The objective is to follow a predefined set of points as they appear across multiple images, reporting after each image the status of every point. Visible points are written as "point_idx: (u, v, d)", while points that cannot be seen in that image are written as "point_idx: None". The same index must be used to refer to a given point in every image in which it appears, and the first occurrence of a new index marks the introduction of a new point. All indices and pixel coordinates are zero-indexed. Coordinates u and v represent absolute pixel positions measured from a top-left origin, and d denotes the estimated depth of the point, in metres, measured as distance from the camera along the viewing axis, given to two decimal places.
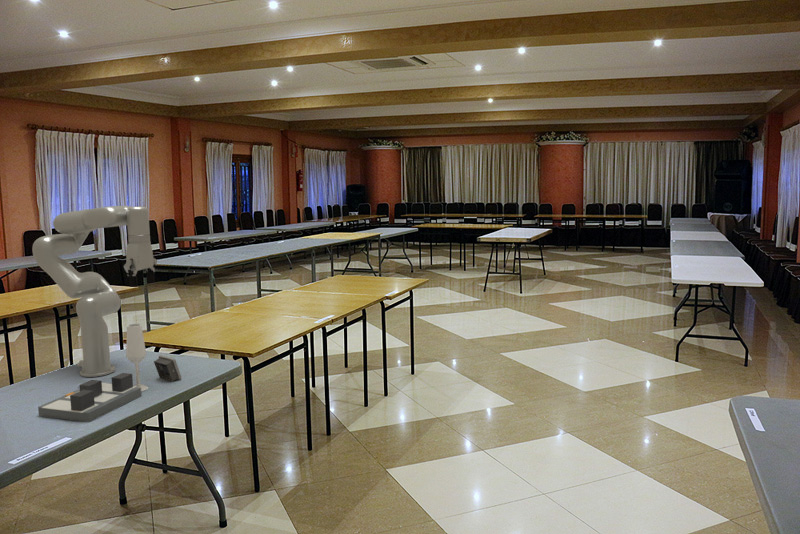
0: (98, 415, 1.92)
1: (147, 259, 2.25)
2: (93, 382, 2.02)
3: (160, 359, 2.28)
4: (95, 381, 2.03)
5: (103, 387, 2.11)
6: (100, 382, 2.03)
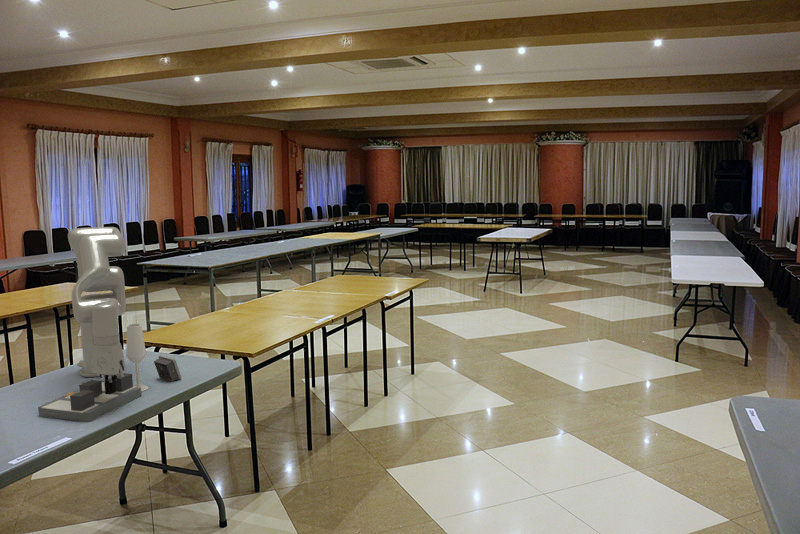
0: (98, 415, 1.92)
1: None
2: (93, 382, 2.02)
3: (160, 359, 2.28)
4: (95, 381, 2.03)
5: (103, 387, 2.11)
6: (100, 382, 2.03)
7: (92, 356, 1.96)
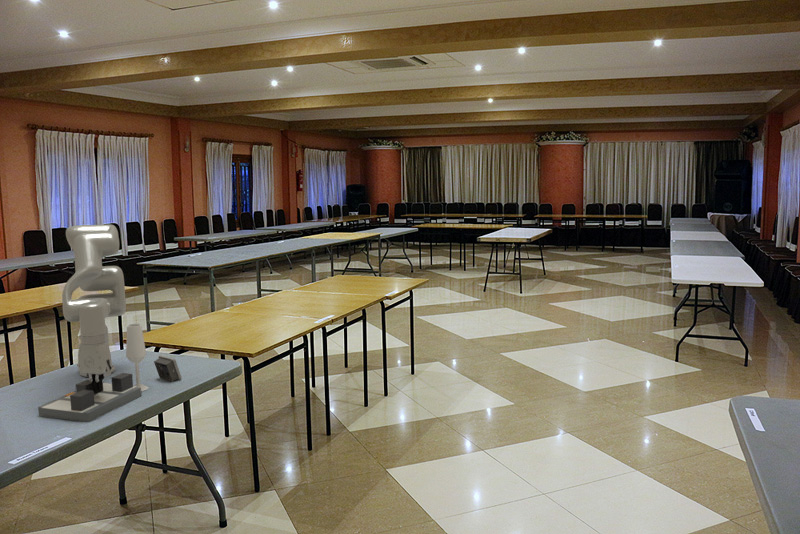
0: (98, 415, 1.92)
1: None
2: (89, 382, 2.02)
3: (160, 359, 2.28)
4: None
5: (103, 387, 2.11)
6: None
7: (79, 355, 1.98)
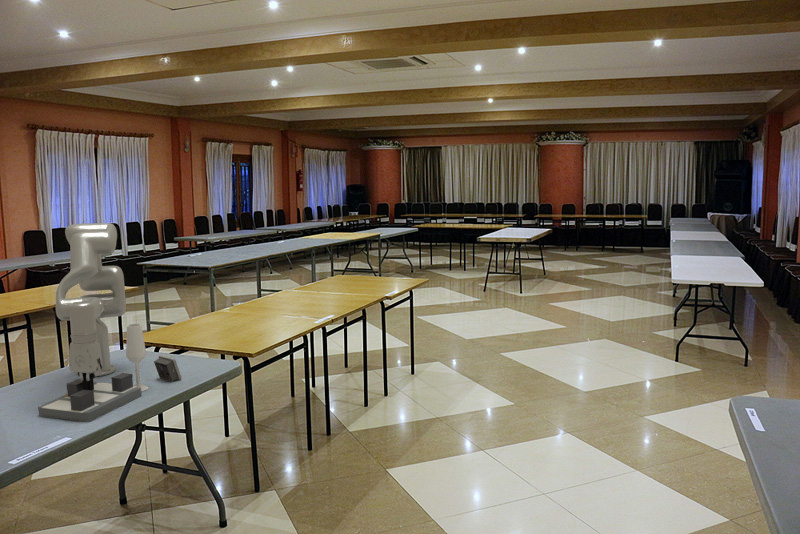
0: (98, 415, 1.92)
1: None
2: (80, 381, 2.03)
3: (160, 359, 2.28)
4: (82, 380, 2.04)
5: (103, 387, 2.11)
6: None
7: (70, 354, 1.99)
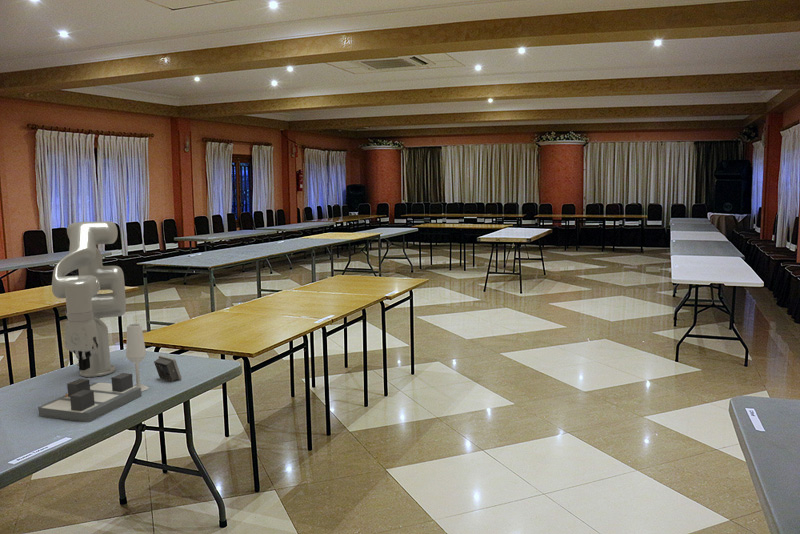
0: (98, 415, 1.92)
1: None
2: (81, 381, 2.03)
3: (160, 359, 2.28)
4: (83, 380, 2.04)
5: (103, 387, 2.11)
6: (88, 381, 2.04)
7: (66, 332, 1.98)
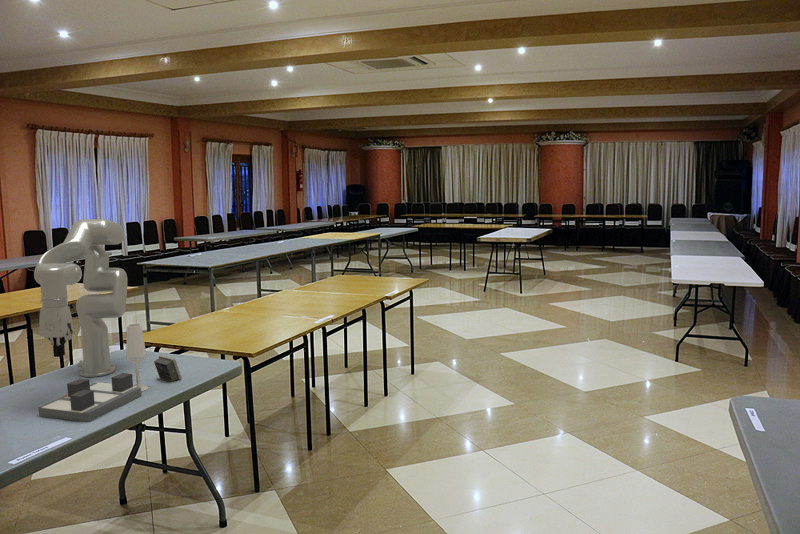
0: (98, 415, 1.92)
1: None
2: (81, 381, 2.03)
3: (160, 359, 2.28)
4: (83, 380, 2.04)
5: (103, 387, 2.11)
6: (88, 381, 2.04)
7: (40, 319, 2.00)
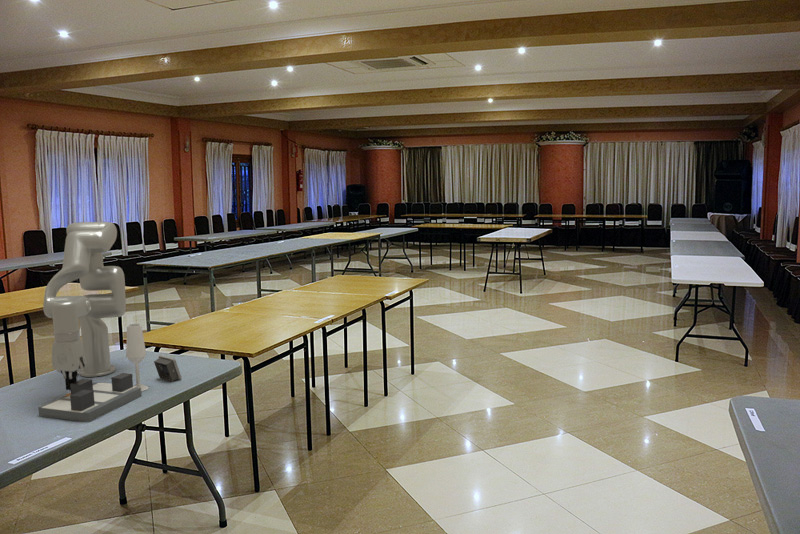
0: (98, 415, 1.92)
1: None
2: (84, 381, 2.03)
3: (160, 359, 2.28)
4: (86, 380, 2.04)
5: (103, 387, 2.11)
6: (91, 381, 2.04)
7: (53, 353, 2.01)
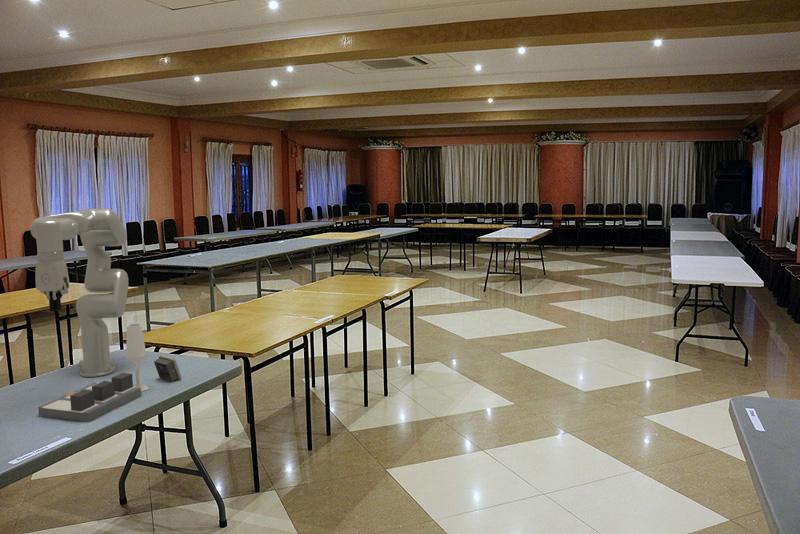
0: (98, 415, 1.92)
1: None
2: (105, 383, 2.00)
3: (160, 359, 2.28)
4: (107, 382, 2.01)
5: None
6: (112, 383, 2.02)
7: (36, 273, 1.99)
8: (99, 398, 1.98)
